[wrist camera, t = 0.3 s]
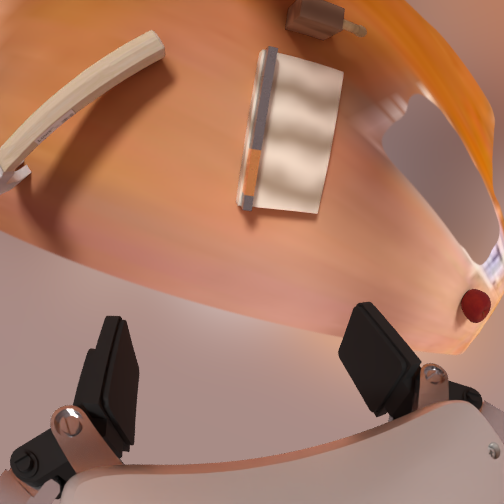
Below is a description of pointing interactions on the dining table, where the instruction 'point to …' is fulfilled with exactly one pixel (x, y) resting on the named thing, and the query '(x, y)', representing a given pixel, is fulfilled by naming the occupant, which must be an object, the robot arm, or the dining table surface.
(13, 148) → the hammer
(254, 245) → the dining table surface
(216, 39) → the dining table surface
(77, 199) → the dining table surface
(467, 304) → the apple
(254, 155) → the rail
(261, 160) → the board
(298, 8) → the brown block with stick
